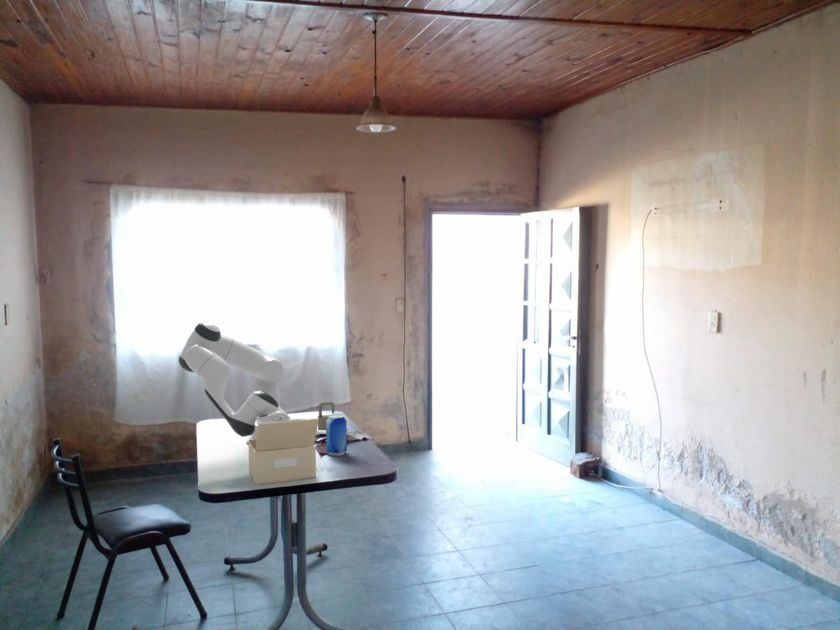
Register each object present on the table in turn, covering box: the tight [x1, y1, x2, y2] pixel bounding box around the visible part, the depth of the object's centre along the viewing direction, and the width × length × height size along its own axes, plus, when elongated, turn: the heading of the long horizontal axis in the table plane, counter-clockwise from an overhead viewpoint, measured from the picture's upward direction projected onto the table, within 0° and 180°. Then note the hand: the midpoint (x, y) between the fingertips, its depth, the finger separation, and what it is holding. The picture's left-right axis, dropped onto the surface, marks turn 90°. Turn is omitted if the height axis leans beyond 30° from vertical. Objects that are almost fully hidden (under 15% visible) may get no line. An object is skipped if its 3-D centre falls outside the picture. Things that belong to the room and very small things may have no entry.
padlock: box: [317, 401, 336, 431], centre depth 312 cm, size 4×8×15 cm, turn 103°
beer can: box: [325, 413, 348, 457], centre depth 278 cm, size 8×8×16 cm
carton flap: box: [256, 418, 319, 451], centre depth 237 cm, size 14×21×1 cm
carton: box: [248, 439, 317, 486], centre depth 250 cm, size 18×22×12 cm
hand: (285, 431), depth 239 cm, fingers closed
